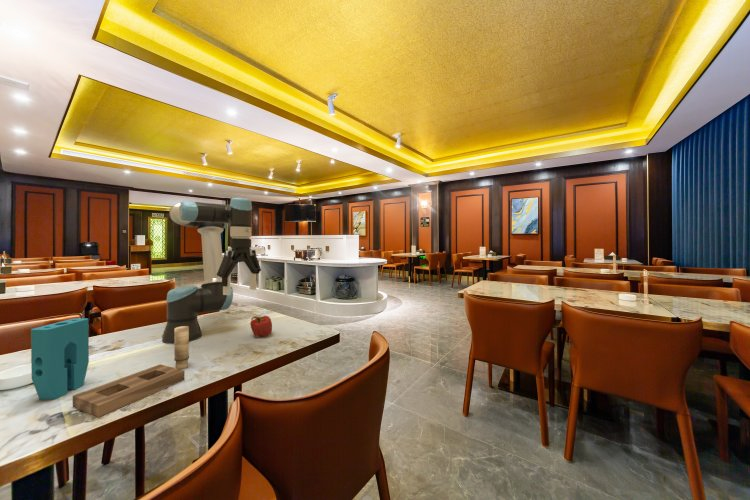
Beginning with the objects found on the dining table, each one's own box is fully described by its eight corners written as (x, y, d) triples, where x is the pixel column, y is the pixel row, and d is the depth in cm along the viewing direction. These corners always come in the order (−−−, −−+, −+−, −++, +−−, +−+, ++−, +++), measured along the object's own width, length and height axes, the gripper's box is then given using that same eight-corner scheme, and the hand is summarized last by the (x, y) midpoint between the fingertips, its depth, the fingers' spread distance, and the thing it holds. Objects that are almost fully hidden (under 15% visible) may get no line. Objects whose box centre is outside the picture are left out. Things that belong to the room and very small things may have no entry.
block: (74, 381, 91) (74, 318, 91) (90, 382, 91) (90, 318, 91) (29, 402, 79) (28, 329, 79) (48, 403, 79) (47, 329, 79)
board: (72, 406, 78) (72, 395, 78) (160, 373, 98) (160, 364, 98) (98, 417, 73) (98, 405, 73) (184, 379, 94) (184, 370, 93)
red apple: (257, 341, 131) (258, 319, 130) (243, 337, 136) (243, 315, 136) (277, 335, 140) (277, 314, 140) (263, 331, 145) (263, 311, 145)
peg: (171, 368, 102) (171, 328, 101) (183, 363, 106) (183, 325, 105) (179, 370, 100) (179, 330, 100) (191, 365, 104) (191, 326, 104)
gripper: (222, 237, 101) (221, 298, 102) (270, 238, 125) (269, 288, 125) (205, 237, 103) (205, 296, 104) (255, 238, 127) (255, 286, 128)
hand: (240, 292), depth 115 cm, fingers open, 13 cm apart
